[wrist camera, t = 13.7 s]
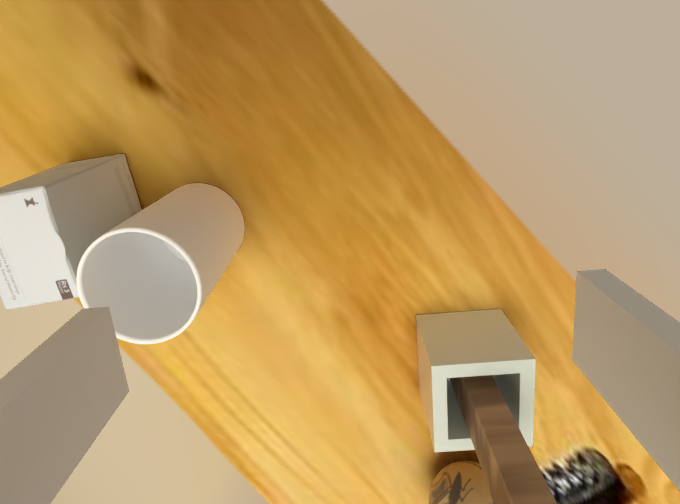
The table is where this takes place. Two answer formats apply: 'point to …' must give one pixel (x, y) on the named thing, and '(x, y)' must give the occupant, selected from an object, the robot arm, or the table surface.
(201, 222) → the cup
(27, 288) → the skincare box
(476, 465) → the ceramic vessel
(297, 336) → the table surface
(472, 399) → the brown wooden plank
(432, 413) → the white square tube
